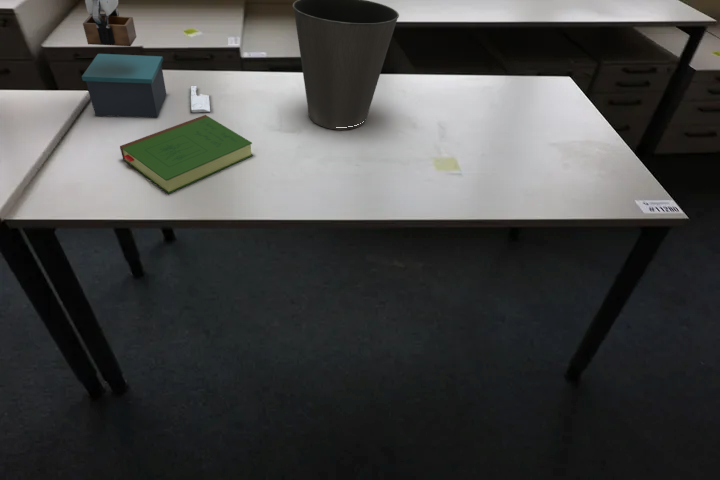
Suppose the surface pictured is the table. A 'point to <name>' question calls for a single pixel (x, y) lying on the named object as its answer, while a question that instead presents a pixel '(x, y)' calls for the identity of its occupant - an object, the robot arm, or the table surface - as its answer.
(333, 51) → the waste basket
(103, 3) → the robot arm
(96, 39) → the wooden box
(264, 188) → the table surface
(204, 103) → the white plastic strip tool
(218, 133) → the hardcover book
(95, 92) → the storage bin
